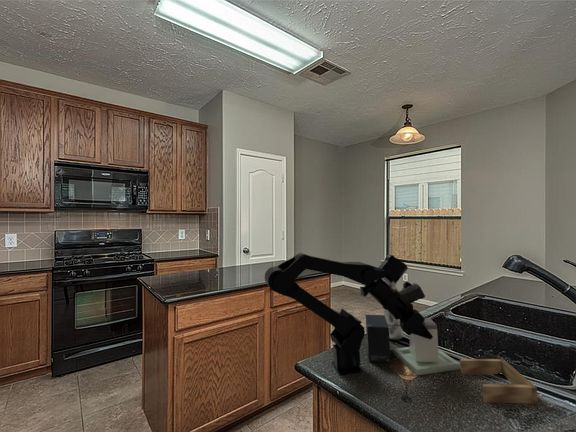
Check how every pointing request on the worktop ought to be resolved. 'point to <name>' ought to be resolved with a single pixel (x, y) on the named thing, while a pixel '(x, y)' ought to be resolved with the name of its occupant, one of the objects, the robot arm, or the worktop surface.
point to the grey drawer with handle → (425, 344)
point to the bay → (501, 392)
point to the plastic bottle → (393, 321)
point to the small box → (377, 338)
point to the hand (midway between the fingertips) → (427, 333)
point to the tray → (426, 367)
